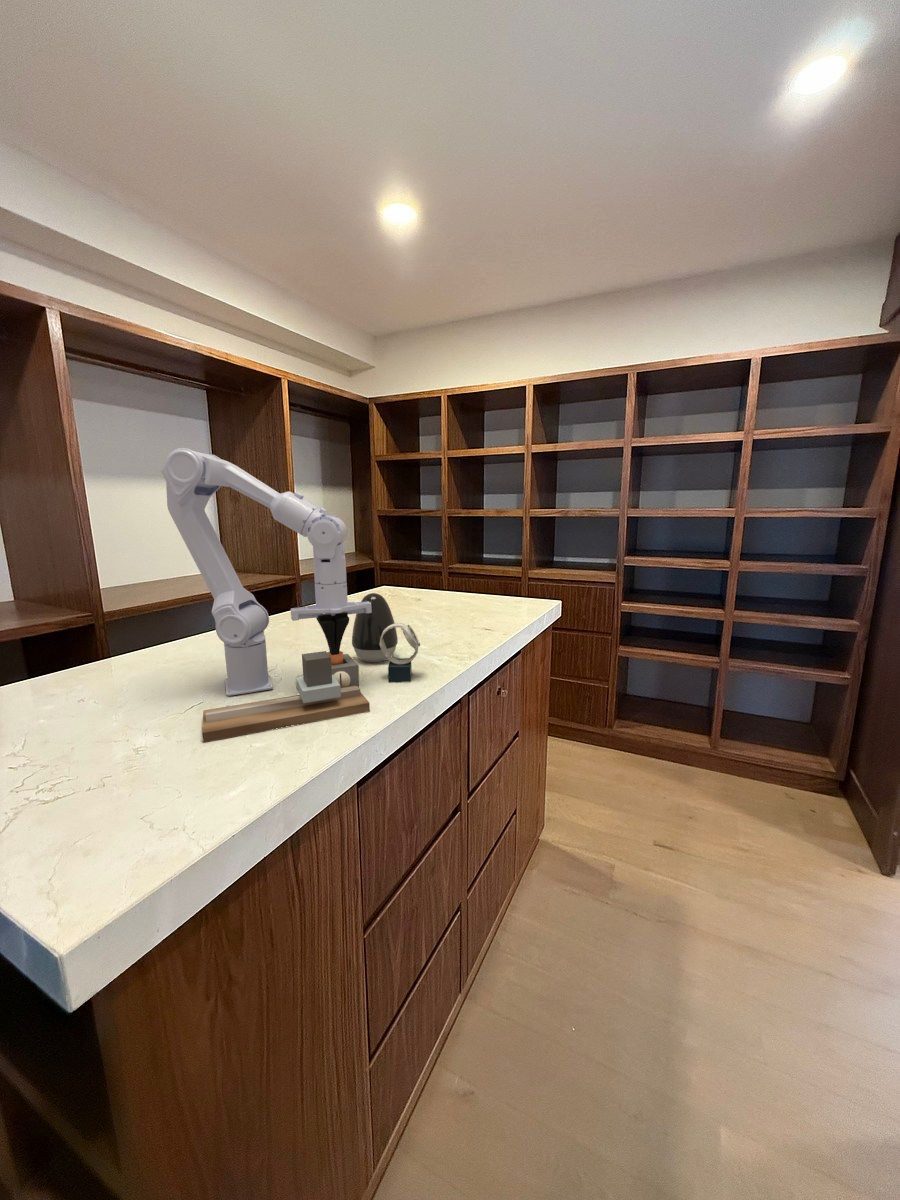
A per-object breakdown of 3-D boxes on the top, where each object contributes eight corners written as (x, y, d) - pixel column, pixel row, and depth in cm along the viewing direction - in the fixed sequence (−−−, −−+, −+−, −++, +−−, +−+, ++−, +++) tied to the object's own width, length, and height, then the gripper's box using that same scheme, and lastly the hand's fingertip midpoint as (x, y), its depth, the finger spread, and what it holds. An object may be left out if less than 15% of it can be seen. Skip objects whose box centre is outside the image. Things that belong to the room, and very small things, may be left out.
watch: (420, 681, 95) (419, 627, 93) (379, 682, 94) (377, 628, 92) (421, 672, 100) (420, 620, 98) (382, 673, 100) (380, 621, 98)
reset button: (324, 664, 92) (323, 652, 91) (341, 661, 93) (340, 649, 93) (328, 669, 89) (327, 656, 89) (345, 666, 90) (344, 654, 90)
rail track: (204, 719, 78) (202, 703, 77) (355, 693, 89) (355, 679, 88) (203, 742, 70) (201, 725, 69) (369, 711, 81) (369, 695, 80)
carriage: (296, 688, 83) (294, 652, 81) (331, 683, 85) (329, 648, 84) (303, 703, 76) (300, 664, 75) (341, 696, 79) (339, 658, 78)
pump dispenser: (345, 665, 105) (342, 596, 102) (361, 651, 115) (359, 589, 112) (390, 667, 103) (388, 597, 100) (403, 653, 113) (401, 589, 110)
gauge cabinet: (313, 683, 94) (312, 658, 93) (348, 677, 97) (347, 653, 96) (322, 697, 87) (320, 671, 86) (360, 691, 90) (359, 665, 89)
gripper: (292, 588, 82) (298, 664, 84) (375, 582, 88) (377, 653, 90) (287, 582, 88) (292, 654, 90) (364, 577, 94) (367, 644, 97)
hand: (334, 653), depth 91 cm, fingers closed, pressing on reset button
